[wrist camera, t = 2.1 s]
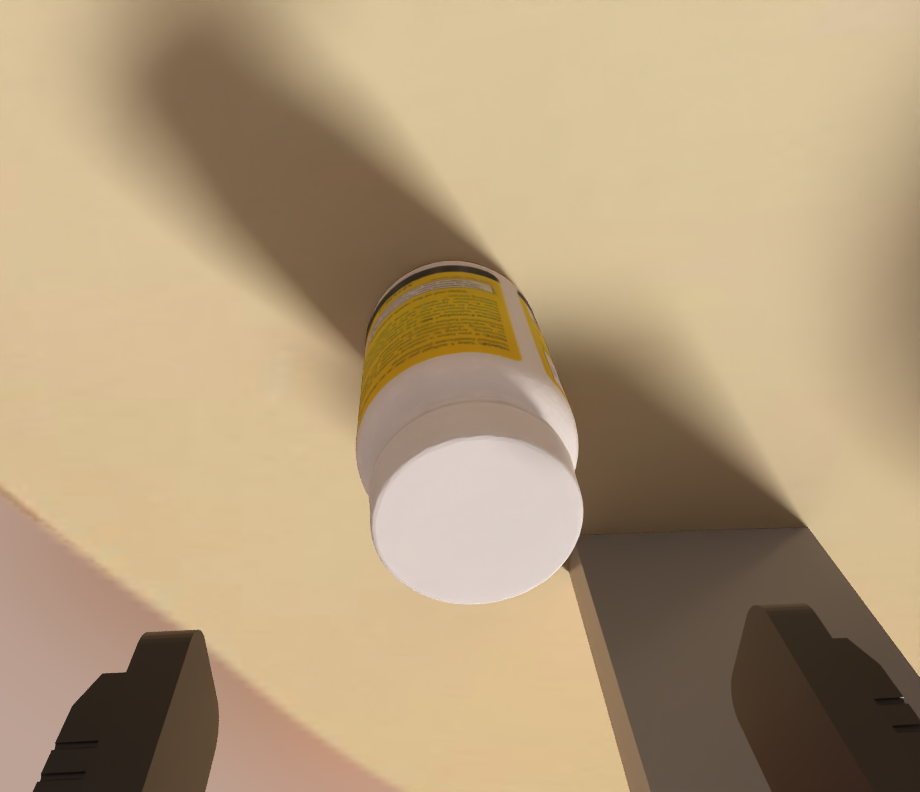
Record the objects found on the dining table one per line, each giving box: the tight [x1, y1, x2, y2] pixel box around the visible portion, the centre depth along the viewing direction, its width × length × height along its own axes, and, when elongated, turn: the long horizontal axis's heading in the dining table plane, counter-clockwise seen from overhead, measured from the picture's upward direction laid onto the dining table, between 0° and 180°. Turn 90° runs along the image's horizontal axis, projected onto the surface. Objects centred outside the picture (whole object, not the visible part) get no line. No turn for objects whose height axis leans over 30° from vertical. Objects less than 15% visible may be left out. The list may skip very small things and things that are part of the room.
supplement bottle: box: [356, 261, 583, 604], centre depth 17 cm, size 5×5×8 cm
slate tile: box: [569, 527, 920, 792], centre depth 21 cm, size 2×8×10 cm, turn 89°
